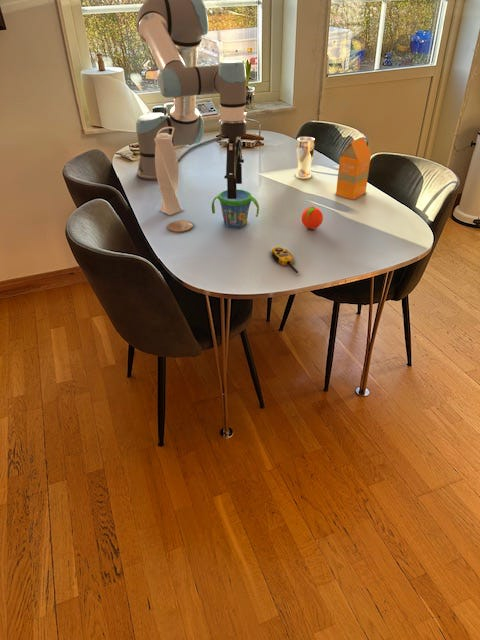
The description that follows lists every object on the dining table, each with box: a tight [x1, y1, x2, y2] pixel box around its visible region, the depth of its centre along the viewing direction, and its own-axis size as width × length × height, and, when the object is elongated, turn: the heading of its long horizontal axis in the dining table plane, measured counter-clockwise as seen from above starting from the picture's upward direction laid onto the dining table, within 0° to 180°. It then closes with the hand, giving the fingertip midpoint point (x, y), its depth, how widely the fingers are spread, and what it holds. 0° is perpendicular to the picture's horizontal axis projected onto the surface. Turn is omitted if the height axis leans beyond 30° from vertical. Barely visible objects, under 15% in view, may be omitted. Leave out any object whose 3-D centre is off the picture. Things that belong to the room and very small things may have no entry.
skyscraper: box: [154, 127, 183, 216], centre depth 160 cm, size 8×8×28 cm
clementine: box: [300, 206, 324, 230], centre depth 153 cm, size 8×7×7 cm
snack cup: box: [211, 189, 260, 229], centre depth 156 cm, size 16×10×10 cm
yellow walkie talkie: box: [271, 246, 299, 274], centre depth 136 cm, size 5×2×15 cm
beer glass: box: [295, 136, 315, 180], centre depth 191 cm, size 7×7×15 cm
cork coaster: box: [167, 220, 193, 233], centre depth 157 cm, size 8×8×1 cm
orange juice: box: [335, 136, 372, 200], centre depth 173 cm, size 8×9×20 cm
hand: (235, 190), depth 152 cm, fingers open, 13 cm apart
